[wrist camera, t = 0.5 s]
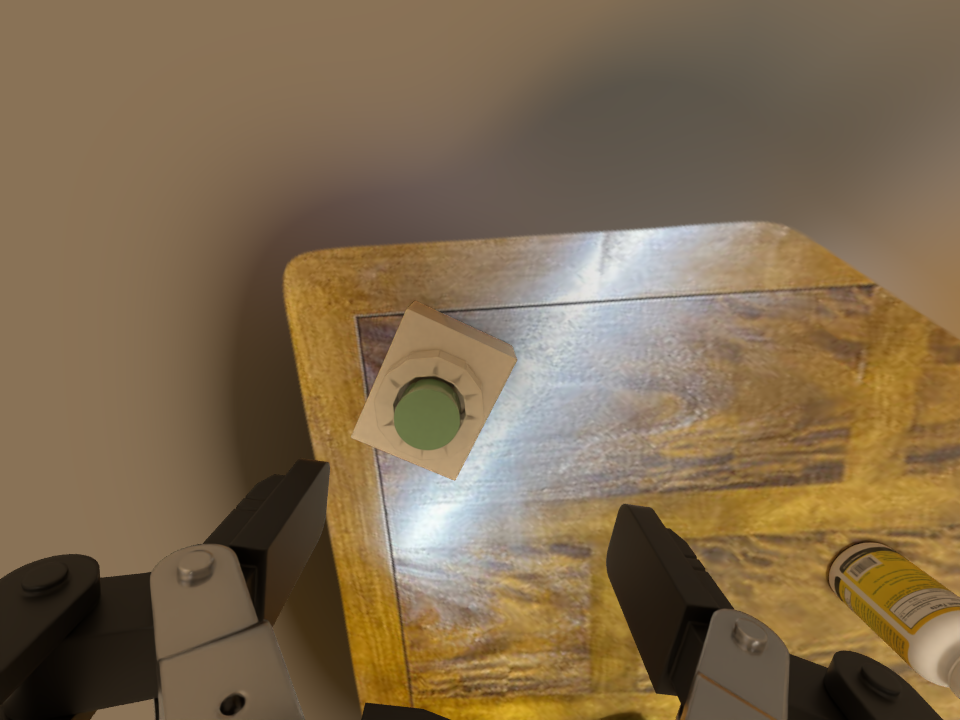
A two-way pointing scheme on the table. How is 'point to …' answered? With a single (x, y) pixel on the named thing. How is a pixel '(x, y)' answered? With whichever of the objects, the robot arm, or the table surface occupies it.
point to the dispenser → (441, 356)
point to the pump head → (428, 414)
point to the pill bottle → (902, 609)
